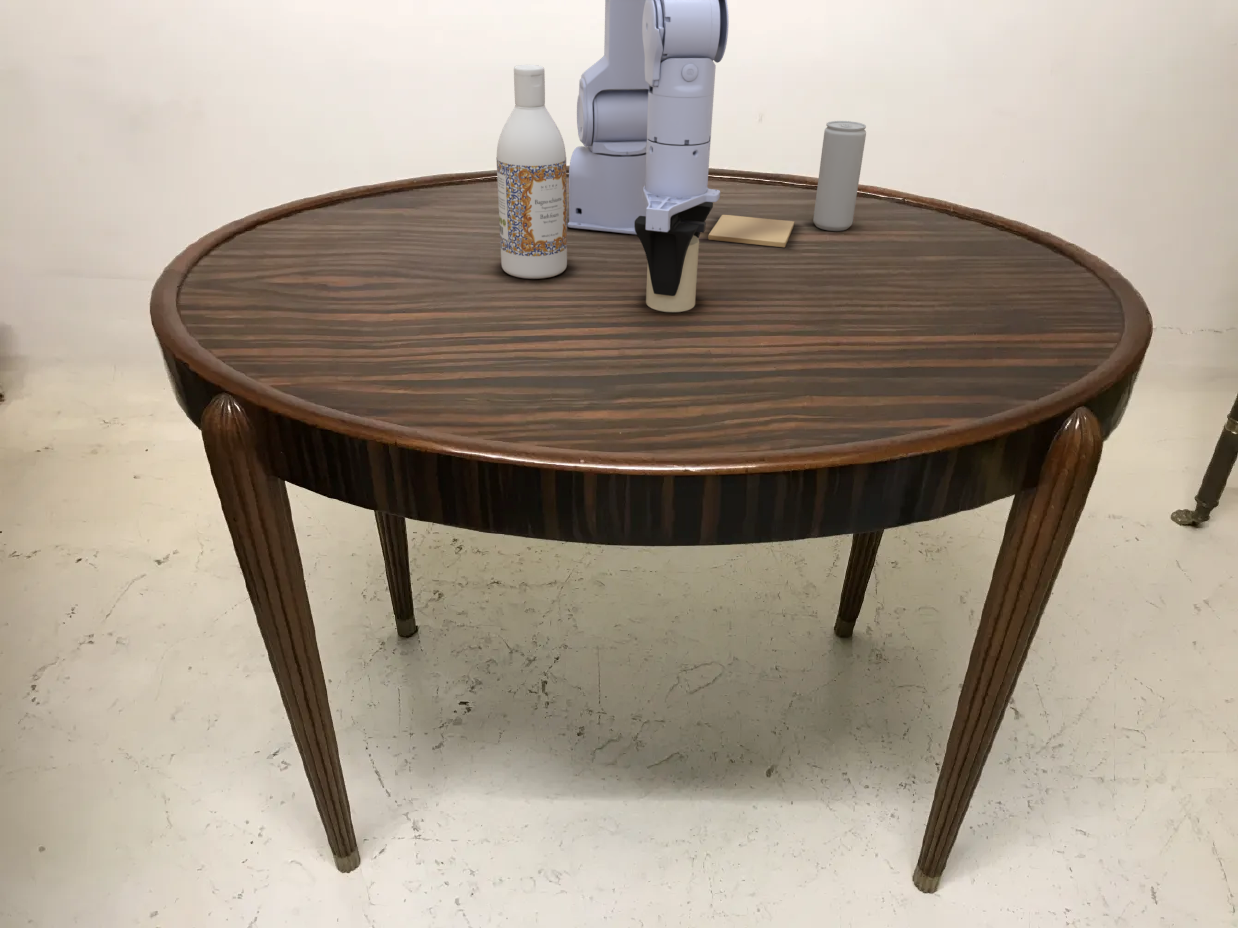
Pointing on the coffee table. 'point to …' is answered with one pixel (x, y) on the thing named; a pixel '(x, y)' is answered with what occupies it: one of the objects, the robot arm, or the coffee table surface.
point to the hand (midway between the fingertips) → (671, 284)
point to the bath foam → (532, 183)
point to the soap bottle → (687, 282)
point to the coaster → (752, 230)
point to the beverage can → (839, 175)
